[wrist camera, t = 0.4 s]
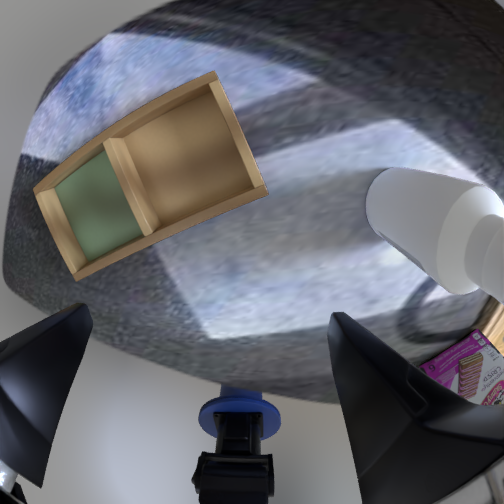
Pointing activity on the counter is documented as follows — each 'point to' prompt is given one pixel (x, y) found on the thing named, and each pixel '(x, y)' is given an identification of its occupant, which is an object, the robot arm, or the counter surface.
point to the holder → (150, 177)
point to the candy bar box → (470, 370)
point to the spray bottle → (442, 227)
